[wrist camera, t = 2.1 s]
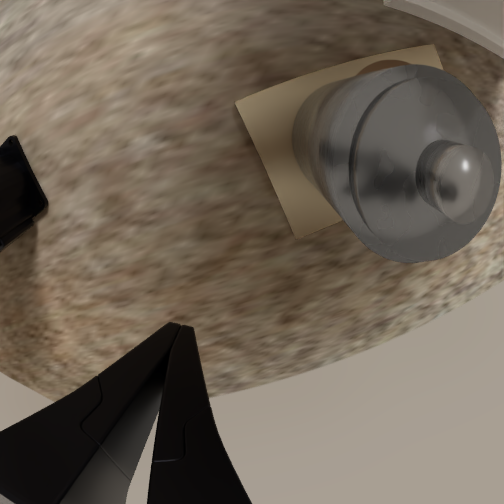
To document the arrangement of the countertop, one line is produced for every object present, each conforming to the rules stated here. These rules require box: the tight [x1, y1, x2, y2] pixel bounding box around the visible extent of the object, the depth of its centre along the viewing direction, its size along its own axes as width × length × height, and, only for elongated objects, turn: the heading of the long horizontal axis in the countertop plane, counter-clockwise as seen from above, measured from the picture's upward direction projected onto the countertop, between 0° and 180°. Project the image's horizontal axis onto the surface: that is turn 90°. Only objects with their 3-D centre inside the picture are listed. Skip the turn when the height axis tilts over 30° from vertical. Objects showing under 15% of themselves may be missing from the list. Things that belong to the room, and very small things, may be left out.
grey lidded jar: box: [292, 64, 501, 263], centre depth 12 cm, size 8×8×11 cm
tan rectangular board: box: [234, 44, 444, 240], centre depth 17 cm, size 10×14×1 cm, turn 114°
